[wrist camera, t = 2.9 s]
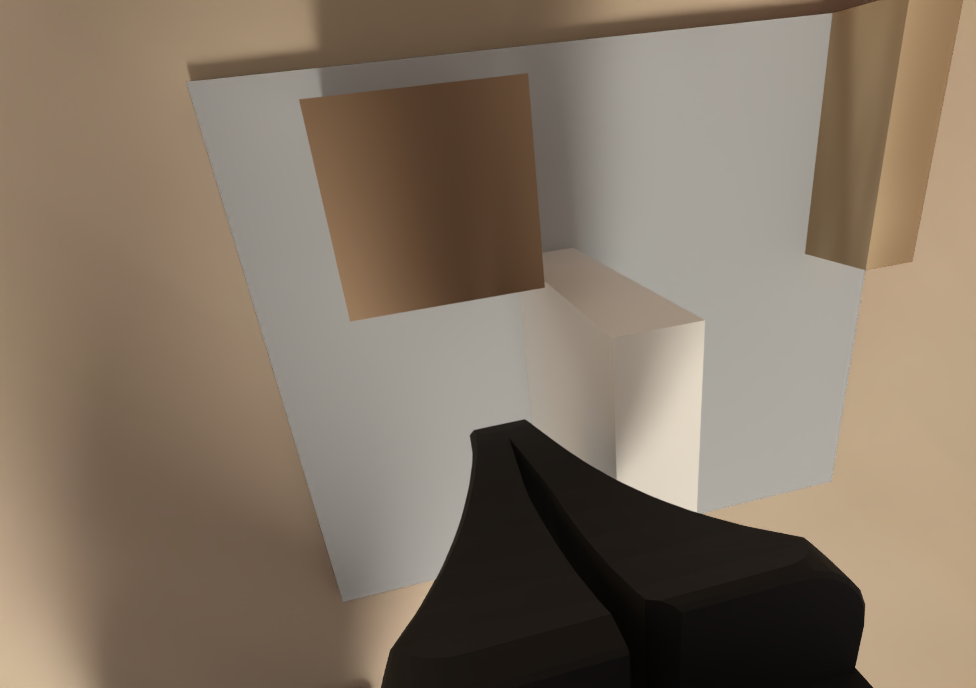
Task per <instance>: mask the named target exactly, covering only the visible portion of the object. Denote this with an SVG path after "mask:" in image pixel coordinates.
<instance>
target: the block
mask: <svg viewBox="0 0 976 688" xmlns="http://www.w3.org/2000/svg"><path fill="white" fill-rule="evenodd" d="M299 102H300V106H301V111H302V115H303V119H304V124H305V128H306V132H307V137H308V141H309V145H310V150H311V154H312V159H313V163H314V167H315V172H316V176H317V180H318V185H319V189H320V193H321V198H322V202H323V206H324V211H325V215H326V219H327V224H328V228H329V232H330V237H331V241H332V245H333V250H334V254H335V258H336V263H337V267H338V271H339V276H340V280H341V284H342V289H343V293H344V297H345V302H346V306H347V310H348V315H349V319H350V322H351V321H356V320H362V319H368V318H374V317H379V316H385V315H391V314H397V313H402V312H408V311H414V310H420V309H425V308H431V307H437V306H443V305H448V304H454V303H460V302H466V301H471V300H477V299H483V298H488V297H494V296H500V295H506V294H511V293H517V292H523V291H529V290H534V289H540V288H545V282H544V269H543V257H542V244H541V231H540V218H539V205H538V193H537V180H536V167H535V154H534V141H533V129H532V116H531V103H530V90H529V78H528V73H525V74H517V75H508V76H499V77H490V78H482V79H473V80H464V81H455V82H446V83H438V84H429V85H420V86H411V87H403V88H394V89H385V90H376V91H368V92H359V93H350V94H341V95H333V96H324V97H315V98H306V99H299Z"/></svg>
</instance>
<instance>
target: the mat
mask: <svg viewBox="0 0 976 688" xmlns="http://www.w3.org/2000/svg"><path fill="white" fill-rule="evenodd" d="M831 21H832V13H828V14H819V15H809V16H800V17H791V18H781V19H772V20H762V21H753V22H744V23H734V24H725V25H715V26H706V27H697V28H687V29H678V30H669V31H659V32H650V33H640V34H631V35H622V36H612V37H603V38H593V39H584V40H575V41H565V42H556V43H546V44H537V45H528V46H518V47H509V48H499V49H490V50H481V51H471V52H462V53H453V54H443V55H434V56H424V57H415V58H406V59H396V60H387V61H377V62H368V63H359V64H349V65H340V66H330V67H321V68H312V69H302V70H293V71H283V72H274V73H265V74H255V75H246V76H236V77H227V78H218V79H208V80H199V81H190V82H186V83H187V87H188V90H189V93H190V96H191V100H192V103H193V106H194V110H195V113H196V116H197V120H198V123H199V126H200V130H201V133H202V136H203V140H204V143H205V146H206V150H207V153H208V156H209V160H210V163H211V166H212V169H213V173H214V176H215V179H216V183H217V186H218V189H219V193H220V196H221V199H222V203H223V206H224V209H225V213H226V216H227V219H228V223H229V226H230V229H231V233H232V236H233V239H234V242H235V246H236V249H237V252H238V256H239V259H240V262H241V266H242V269H243V272H244V276H245V279H246V282H247V286H248V289H249V292H250V296H251V299H252V302H253V306H254V309H255V312H256V316H257V319H258V322H259V325H260V329H261V332H262V335H263V339H264V342H265V345H266V349H267V352H268V355H269V359H270V362H271V365H272V369H273V372H274V375H275V379H276V382H277V385H278V389H279V392H280V395H281V398H282V402H283V405H284V408H285V412H286V415H287V418H288V422H289V425H290V428H291V432H292V435H293V438H294V442H295V445H296V448H297V452H298V455H299V458H300V462H301V465H302V468H303V471H304V475H305V478H306V481H307V485H308V488H309V491H310V495H311V498H312V501H313V505H314V508H315V511H316V515H317V518H318V521H319V525H320V528H321V531H322V535H323V538H324V541H325V544H326V548H327V551H328V554H329V558H330V561H331V564H332V568H333V571H334V574H335V578H336V581H337V584H338V588H339V591H340V594H341V598H342V601H343V602H347V601H351V600H355V599H359V598H363V597H367V596H371V595H375V594H379V593H383V592H387V591H391V590H395V589H399V588H403V587H407V586H411V585H415V584H419V583H423V582H427V581H431V580H435V579H436V578H437V576H438V574H439V572H440V570H441V568H442V566H443V563H444V561H445V559H446V557H447V554H448V552H449V550H450V547H451V545H452V542H453V540H454V537H455V534H456V532H457V529H458V526H459V523H460V520H461V516H462V513H463V509H464V505H465V501H466V497H467V492H468V488H469V483H470V476H471V468H472V455H473V453H472V447H471V441H470V434H471V433H472V432H473V430H476V429H481V428H486V427H490V426H495V425H500V424H504V423H509V422H514V421H518V420H523V419H526V420H527V421H528V422H530V423H531V424H532V418H531V408H530V398H529V388H528V377H527V367H526V357H525V347H524V337H523V326H522V316H521V306H520V296H519V292H517V293H511V294H506V295H500V296H494V297H488V298H483V299H477V300H471V301H466V302H460V303H454V304H448V305H443V306H437V307H431V308H425V309H420V310H414V311H408V312H402V313H397V314H391V315H385V316H379V317H374V318H368V319H362V320H356V321H351V322H350V319H349V315H348V310H347V306H346V302H345V297H344V293H343V289H342V284H341V280H340V276H339V271H338V267H337V263H336V258H335V254H334V250H333V245H332V241H331V237H330V232H329V228H328V224H327V219H326V215H325V211H324V206H323V202H322V198H321V193H320V189H319V185H318V180H317V176H316V172H315V167H314V163H313V159H312V154H311V150H310V145H309V141H308V137H307V132H306V128H305V124H304V119H303V115H302V111H301V106H300V102H299V99H306V98H315V97H324V96H333V95H341V94H350V93H359V92H368V91H376V90H385V89H394V88H403V87H411V86H420V85H429V84H438V83H446V82H455V81H464V80H473V79H482V78H490V77H499V76H508V75H517V74H525V73H528V78H529V90H530V103H531V116H532V129H533V141H534V154H535V167H536V180H537V193H538V205H539V218H540V231H541V244H542V253H543V252H549V251H555V250H561V249H567V248H575V249H577V250H578V251H580V252H582V253H584V254H586V255H587V256H589V257H591V258H593V259H595V260H597V261H598V262H600V263H602V264H604V265H606V266H607V267H609V268H611V269H613V270H615V271H617V272H618V273H620V274H622V275H624V276H626V277H627V278H629V279H631V280H633V281H635V282H637V283H638V284H640V285H642V286H644V287H646V288H647V289H649V290H651V291H653V292H655V293H657V294H658V295H660V296H662V297H664V298H666V299H667V300H669V301H671V302H673V303H675V304H677V305H678V306H680V307H682V308H684V309H686V310H687V311H689V312H691V313H693V314H695V315H697V316H698V317H700V318H702V319H704V320H705V335H704V358H703V382H702V405H701V428H700V451H699V474H698V497H697V513H700V514H702V513H706V512H710V511H714V510H718V509H722V508H726V507H730V506H734V505H738V504H742V503H746V502H750V501H754V500H758V499H762V498H766V497H771V496H775V495H779V494H783V493H787V492H791V491H795V490H799V489H803V488H807V487H811V486H815V485H819V484H823V483H827V482H831V481H832V475H833V469H834V462H835V456H836V450H837V444H838V438H839V431H840V425H841V419H842V413H843V406H844V400H845V394H846V388H847V381H848V375H849V369H850V363H851V357H852V350H853V344H854V338H855V332H856V325H857V319H858V313H859V307H860V301H861V294H862V288H863V282H864V276H865V270H862V269H859V268H855V267H851V266H848V265H844V264H840V263H837V262H833V261H829V260H825V259H822V258H818V257H814V256H811V255H807V254H805V249H806V240H807V231H808V222H809V214H810V205H811V196H812V187H813V179H814V170H815V161H816V152H817V144H818V135H819V126H820V117H821V109H822V100H823V91H824V82H825V74H826V65H827V56H828V47H829V39H830V30H831Z"/></svg>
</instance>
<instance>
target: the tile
mask: <svg viewBox="0 0 976 688" xmlns="http://www.w3.org/2000/svg"><path fill="white" fill-rule="evenodd" d="M542 257H543V269H544V282H545V288H540V289H534V290H529V291H523V292H519V296H520V306H521V316H522V326H523V337H524V347H525V357H526V367H527V377H528V388H529V398H530V408H531V418H532V425H534V426H535V427H536V428H538V429H539V430H540V431H542V432H543V433H544V434H546V435H547V436H548V437H550V438H551V439H552V440H554V441H555V442H557V443H558V444H559V445H561V446H562V447H564V448H565V449H566V450H568V451H569V452H571V453H572V454H574V455H575V456H577V457H578V458H580V459H581V460H583V461H585V462H586V463H588V464H589V465H591V466H593V467H595V468H596V469H598V470H600V471H602V472H603V473H605V474H607V475H608V476H610V477H612V478H614V479H616V480H618V481H620V482H622V483H624V484H626V485H628V486H630V487H633V488H635V489H637V490H639V491H641V492H643V493H646V494H648V495H650V496H653V497H655V498H658V499H660V500H663V501H665V502H668V503H671V504H674V505H676V506H679V507H682V508H685V509H687V510H690V511H693V512H697V497H698V474H699V451H700V428H701V405H702V382H703V358H704V335H705V320H704V319H702V318H700V317H698V316H697V315H695V314H693V313H691V312H689V311H687V310H686V309H684V308H682V307H680V306H678V305H677V304H675V303H673V302H671V301H669V300H667V299H666V298H664V297H662V296H660V295H658V294H657V293H655V292H653V291H651V290H649V289H647V288H646V287H644V286H642V285H640V284H638V283H637V282H635V281H633V280H631V279H629V278H627V277H626V276H624V275H622V274H620V273H618V272H617V271H615V270H613V269H611V268H609V267H607V266H606V265H604V264H602V263H600V262H598V261H597V260H595V259H593V258H591V257H589V256H587V255H586V254H584V253H582V252H580V251H578V250H577V249H575V248H567V249H561V250H555V251H549V252H543V253H542Z"/></svg>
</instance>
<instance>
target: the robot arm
mask: <svg viewBox="0 0 976 688" xmlns="http://www.w3.org/2000/svg"><path fill="white" fill-rule="evenodd" d="M470 441H471V447H472V453H473V455H472V468H471V476H470V483H469V488H468V492H467V497H466V501H465V505H464V509H463V513H462V516H461V520H460V523H459V526H458V529H457V532H456V534H455V537H454V540H453V542H452V545H451V547H450V550H449V552H448V554H447V557H446V559H445V561H444V563H443V566H442V568H441V570H440V572H439V574H438V576H437V578H436V579H435V581H434V583H433V585H432V587H431V588H430V590H429V592H428V594H427V596H426V597H425V599H424V601H423V603H422V604H421V606H420V608H419V609H418V611H417V613H416V614H415V616H414V617H413V618H412V620H411V621H410V623H409V624H408V626H407V627H406V628H405V630H404V631H403V633H402V634H401V636H400V637H399V639H398V640H397V641H396V643H395V644H394V646H393V647H392V648H391V650H390V653H389V657H388V661H387V665H386V669H385V673H384V677H383V681H382V686H381V688H873V687H872V686H871V685H870V684H869V683H868V681H867V680H866V679H865V678H864V677H863V676H862V675H861V674H860V673H859V672H858V670H857V669H856V668H855V665H856V660H857V656H858V651H859V646H860V642H861V637H862V632H863V628H864V615H865V603H864V600H863V597H862V594H861V591H860V589H859V588H858V587H857V586H856V585H855V584H854V583H853V582H852V581H851V580H850V579H849V578H848V577H847V576H846V575H845V574H844V573H843V572H842V571H841V570H840V569H839V568H838V567H837V566H836V565H835V564H834V563H833V562H831V561H830V560H829V559H828V558H827V557H826V556H825V555H824V554H823V553H822V552H820V551H819V550H818V549H817V548H816V547H815V546H814V545H812V544H811V543H810V542H809V541H807V540H806V539H805V538H803V537H798V536H793V535H788V534H783V533H778V532H773V531H768V530H762V529H757V528H752V527H747V526H743V525H739V524H736V523H732V522H728V521H724V520H721V519H717V518H713V517H710V516H706V515H703V514H700V513H697V512H693V511H690V510H687V509H685V508H682V507H679V506H676V505H674V504H671V503H668V502H665V501H663V500H660V499H658V498H655V497H653V496H650V495H648V494H646V493H643V492H641V491H639V490H637V489H635V488H633V487H630V486H628V485H626V484H624V483H622V482H620V481H618V480H616V479H614V478H612V477H610V476H608V475H607V474H605V473H603V472H602V471H600V470H598V469H596V468H595V467H593V466H591V465H589V464H588V463H586V462H585V461H583V460H581V459H580V458H578V457H577V456H575V455H574V454H572V453H571V452H569V451H568V450H566V449H565V448H564V447H562V446H561V445H559V444H558V443H557V442H555V441H554V440H552V439H551V438H550V437H548V436H547V435H546V434H544V433H543V432H542V431H540V430H539V429H538V428H536V427H535V426H534V425H532V424H531V423H530V422H528V421H527V420H526V419H523V420H518V421H514V422H509V423H504V424H500V425H495V426H490V427H486V428H481V429H476V430H473V432H472V433H471V434H470Z"/></svg>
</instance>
